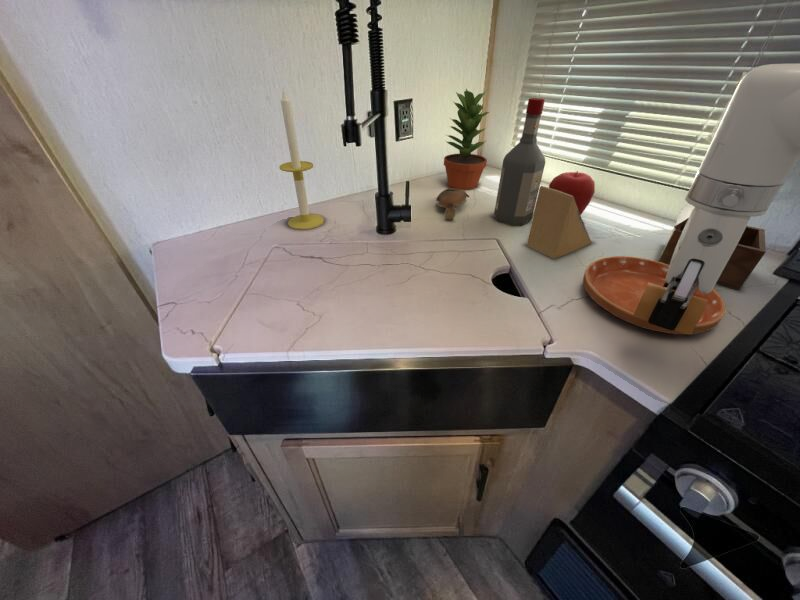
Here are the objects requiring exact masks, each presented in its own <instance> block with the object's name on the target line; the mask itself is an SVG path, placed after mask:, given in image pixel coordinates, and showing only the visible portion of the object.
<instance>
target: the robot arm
mask: <svg viewBox="0 0 800 600" xmlns="http://www.w3.org/2000/svg"><path fill="white" fill-rule="evenodd" d="M799 159H800V63H770V64H762V65H759V66H756V67H754V68H752V69H750V70H749V71H747V72H746V74H745V75H743V77H742V78H741V79H740V81H739V83H738V85H737V86H736V89H735V90H734V93H733V95H732V96H731V99H730V101H729V103H728V106H727V107H726V110H725V112H724V114H723V116H722V118H721V121H720V123H719V125H718V127H717V129H716V131H715V134H714V136H713V138H712V140H711V142H710V144H709V147H708V149H707V151H706V153H705V155H704V157H703V159H702V161H701V163H700V166H699V168H698V171H697V172H696V174H695V176H694V179H693V181H692V183H691V186H690V188H689V189H688V191H687V193H686V195H685V197H684V198H685V199H684V200H685V202H686V203H688V205H689V204H691V205H692V206H694V208H693V210H692V212H691V214H690V216H689V218H688V221H687V223H686V225H685V227H684V229H683V231H682V234H681V236H680V238H679V240H678V243H677V245H676V248H675V250H674V253H673V256H672V259H671V262H670V265H669V269H668V272H667V275H666V279H665V280H666V282H665V284H664V286H663V287H666V288H667V289H666V291H665V293H664V295H663V297H662V299H661V298H659V300H658V302H657V304H656V306H655V308H654V310H653V311H652V313H651V315H650V317H649V320H648V322H649V323H650V324H653V325H656V326H659V327H662V328H665V329H668V330H671V331H673V330H675V328H676V326H677V325H678V323H679V321H680V319H681V318H682V316H683V314H684V313H685V311H686V309H687V304H688V302H689V301H690V299H691V297H692V295H693V293H694V291H695V290H696V287H697V286H698V284H699V291H700V292H703V294H709V293H711V292H712V290H713V289H715V288H714V287H715V286H716V285H717V284H716V282H717V280H718V278H719V277H720V275H721V273H722V271H723V269H724V268H725V266H726V264H727V262H728V260H729V259H730V257H731V255H732V253H733V251H734V250H735V248H736V246H737V244H738V242H739V240H740V238H741V236H742V234H743V232H744V230H745V228H746V226H748V224H749V222H750V219H751V217H760V216H761V217H762V215H765V214H766V212H767V211H768V209H769V207H770V206H771V205H772V203H773V201H774V200H775V198H776V196H777V195H778V193H779V191H780V190H781V188H782V186H783V185H784V183H785V181H786V180H787V178H788V177H789V176H790V173H791V172H792V170H793V169H794V167H795V165H796V164H797V162H798V160H799ZM693 283H694V284H693ZM672 289H673V290H675V292H674V291H672V292H671V290H672ZM670 292H671V293H670Z"/></svg>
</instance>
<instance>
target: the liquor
mask: <svg viewBox="0 0 800 600" xmlns="http://www.w3.org/2000/svg"><path fill="white" fill-rule="evenodd" d="M545 101H546V99H545V98H541V97H539V98H538V97H531V98H528V101H527V106H526V111H525V120H524V125H523V128H522V129H523V130H522V134H521V137H520V139H519V142H518V143H517V144H516V145H515V146H513V147H512V149H510V151H508V152H507V153H506V154H505V156H504V158H503V160H502V164H501V170H500V176H499V183H498V189H497V195H496V200H495V206H494V212H493V215H494V217H495V219H496V221H497V222H500V223H503V224H507V225H509V226H513V227H514V226H515V227H516V226H517V227H518V226H520V227H521V226H523V225H525V224H526V223H528V222H530V221H532V219H533V215H534V211H535V206H536V202H537V198H538V193H539V189H540V186H541V183H542V179H543V178H542V177H543V174H544V170H545V167H546V157H545V155H544V153H543V152H542V150H541V148H540V147H539V145H538V144H537V143H538V139H537V137H538V131H539V127H540V121H541V117H542V116H541V115H542V114H543V110H544V106H545Z"/></svg>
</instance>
